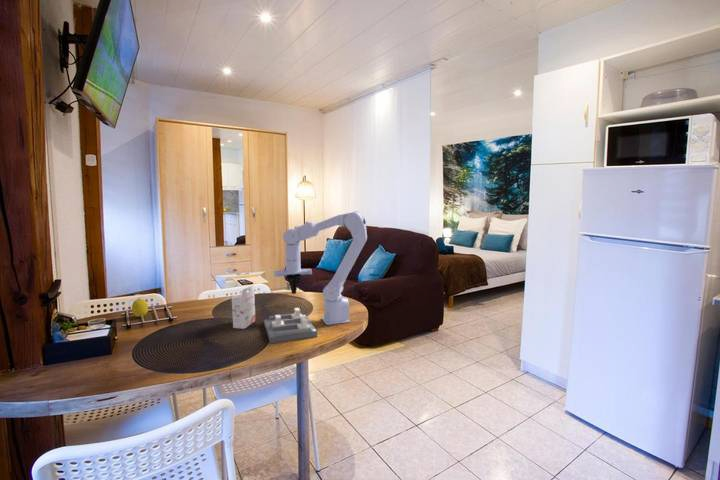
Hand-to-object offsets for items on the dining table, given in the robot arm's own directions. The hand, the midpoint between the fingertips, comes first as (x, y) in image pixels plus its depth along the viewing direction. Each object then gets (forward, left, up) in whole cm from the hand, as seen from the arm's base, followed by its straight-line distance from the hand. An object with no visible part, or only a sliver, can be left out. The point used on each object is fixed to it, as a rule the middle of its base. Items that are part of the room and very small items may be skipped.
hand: (293, 293), depth 139 cm
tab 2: (0, +7, -8) cm, 11 cm away
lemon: (+57, -22, -11) cm, 62 cm away
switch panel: (+4, +12, -10) cm, 16 cm away
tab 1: (+8, +12, -8) cm, 17 cm away
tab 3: (0, +18, -8) cm, 19 cm away
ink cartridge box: (+19, 0, -11) cm, 22 cm away
